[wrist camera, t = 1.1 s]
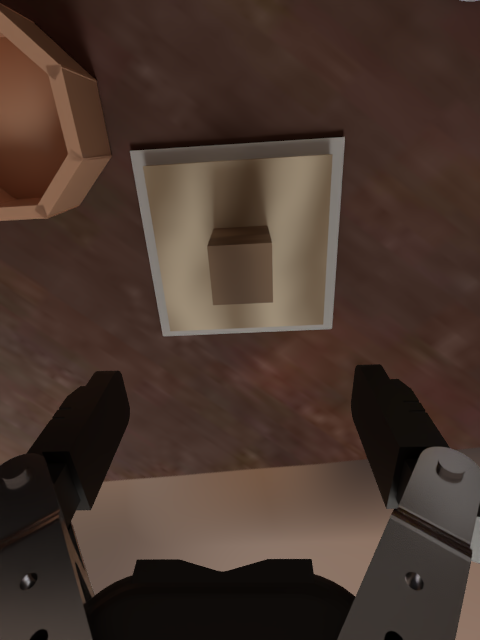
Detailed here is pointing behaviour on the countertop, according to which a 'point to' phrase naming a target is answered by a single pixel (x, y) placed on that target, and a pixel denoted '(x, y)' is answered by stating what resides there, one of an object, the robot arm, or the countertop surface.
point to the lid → (242, 240)
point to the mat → (238, 153)
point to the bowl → (45, 124)
